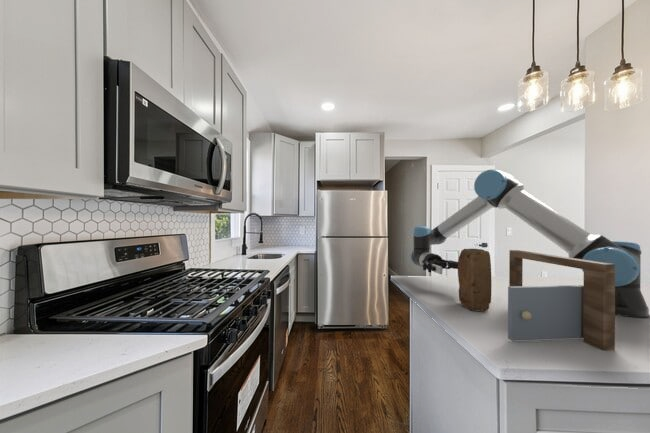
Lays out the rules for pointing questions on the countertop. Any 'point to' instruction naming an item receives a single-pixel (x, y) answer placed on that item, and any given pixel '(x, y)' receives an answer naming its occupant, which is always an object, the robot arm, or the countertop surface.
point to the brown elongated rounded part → (474, 279)
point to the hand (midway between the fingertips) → (458, 270)
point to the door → (545, 312)
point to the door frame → (595, 293)
